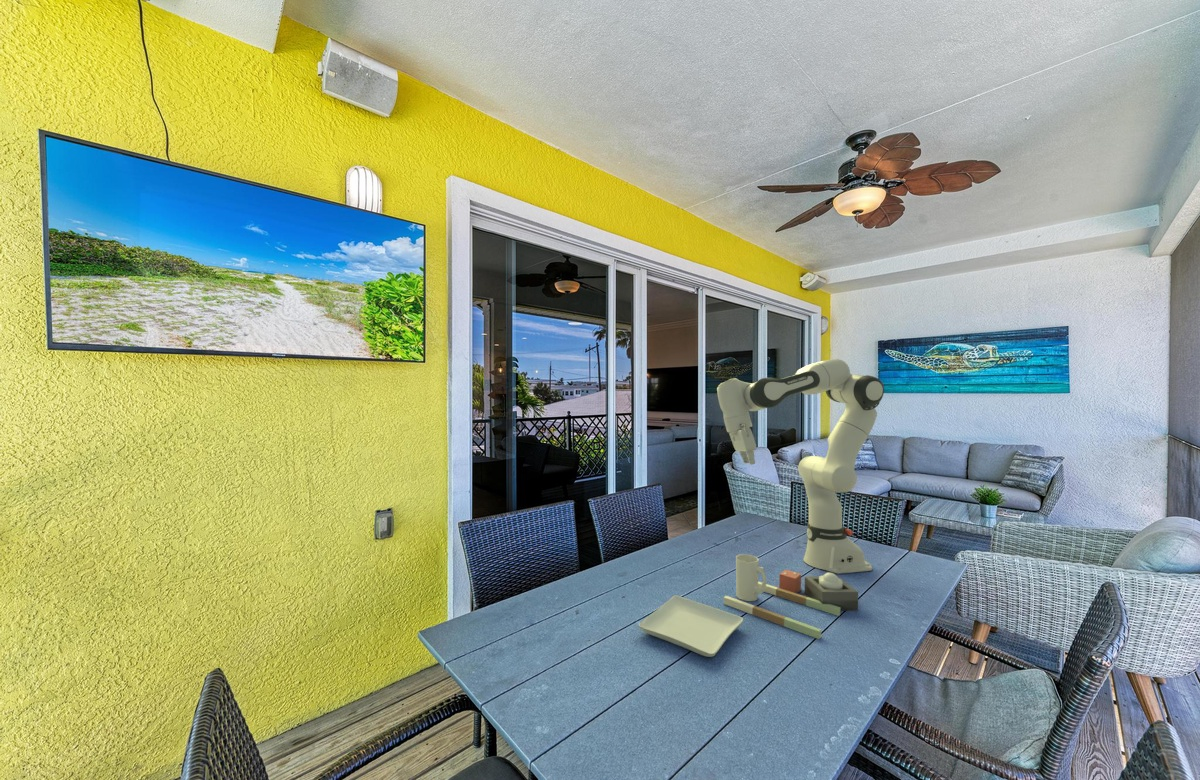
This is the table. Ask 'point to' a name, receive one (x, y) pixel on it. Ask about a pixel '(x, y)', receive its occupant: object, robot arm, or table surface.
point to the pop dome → (830, 581)
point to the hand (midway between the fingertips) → (749, 463)
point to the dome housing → (832, 594)
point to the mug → (748, 577)
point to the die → (790, 581)
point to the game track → (782, 619)
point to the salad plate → (691, 625)
